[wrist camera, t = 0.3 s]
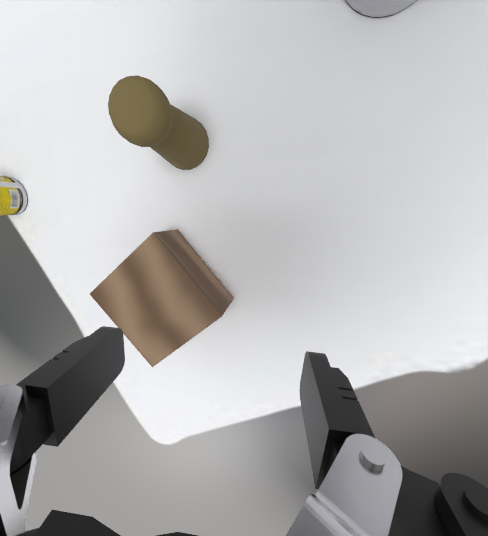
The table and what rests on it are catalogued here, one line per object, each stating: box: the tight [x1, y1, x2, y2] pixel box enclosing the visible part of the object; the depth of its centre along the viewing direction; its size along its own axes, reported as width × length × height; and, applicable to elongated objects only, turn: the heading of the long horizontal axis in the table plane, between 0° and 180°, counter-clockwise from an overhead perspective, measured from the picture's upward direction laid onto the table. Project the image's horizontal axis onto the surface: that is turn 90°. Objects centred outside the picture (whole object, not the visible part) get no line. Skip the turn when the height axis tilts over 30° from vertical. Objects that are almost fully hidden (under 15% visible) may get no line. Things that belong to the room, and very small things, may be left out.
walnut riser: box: [90, 230, 234, 367], centre depth 31 cm, size 12×12×6 cm
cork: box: [108, 76, 209, 170], centre depth 24 cm, size 6×6×11 cm
